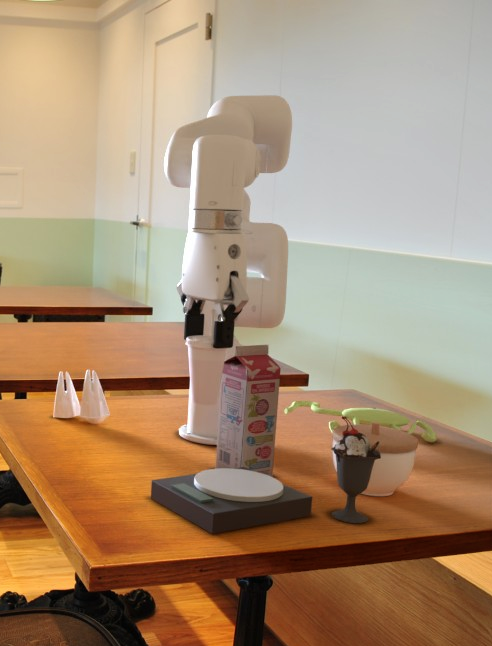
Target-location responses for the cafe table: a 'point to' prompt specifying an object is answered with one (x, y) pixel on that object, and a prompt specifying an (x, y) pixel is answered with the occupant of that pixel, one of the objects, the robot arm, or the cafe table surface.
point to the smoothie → (205, 366)
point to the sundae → (353, 470)
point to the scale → (230, 499)
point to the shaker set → (91, 403)
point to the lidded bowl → (385, 456)
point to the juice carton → (248, 410)
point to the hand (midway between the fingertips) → (207, 342)
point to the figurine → (367, 418)
